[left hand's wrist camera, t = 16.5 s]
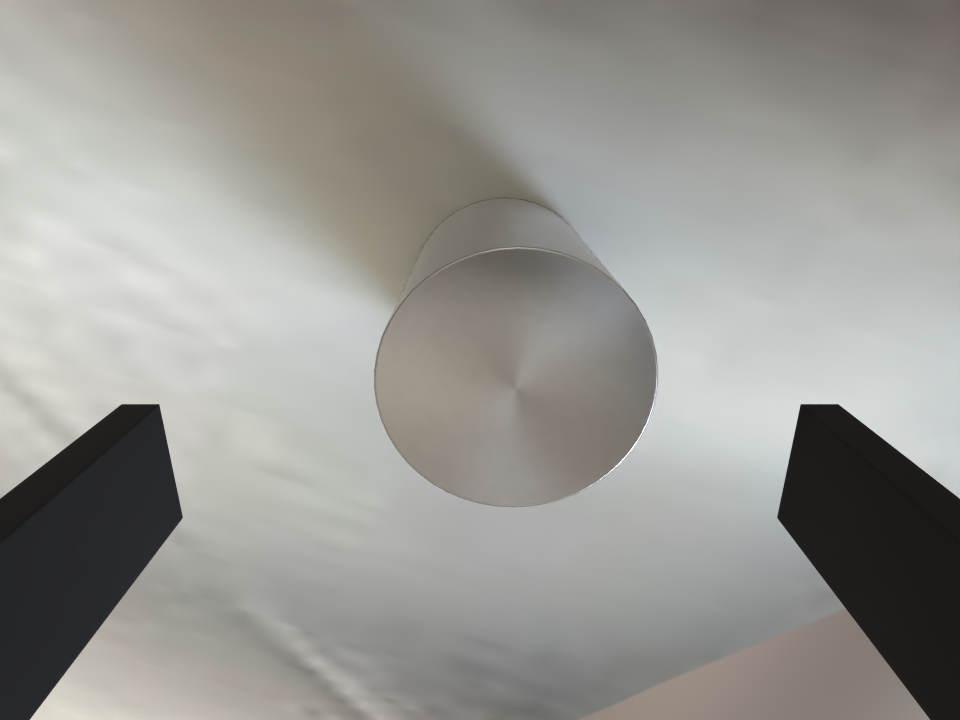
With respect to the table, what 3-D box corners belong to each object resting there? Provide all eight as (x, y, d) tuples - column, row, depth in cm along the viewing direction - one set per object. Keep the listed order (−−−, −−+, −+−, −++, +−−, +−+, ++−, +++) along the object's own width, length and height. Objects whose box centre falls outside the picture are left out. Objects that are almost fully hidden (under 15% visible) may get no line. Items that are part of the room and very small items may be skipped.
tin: (377, 306, 28) (319, 411, 18) (486, 157, 25) (491, 182, 15) (517, 405, 29) (535, 550, 20) (631, 274, 27) (718, 363, 17)
